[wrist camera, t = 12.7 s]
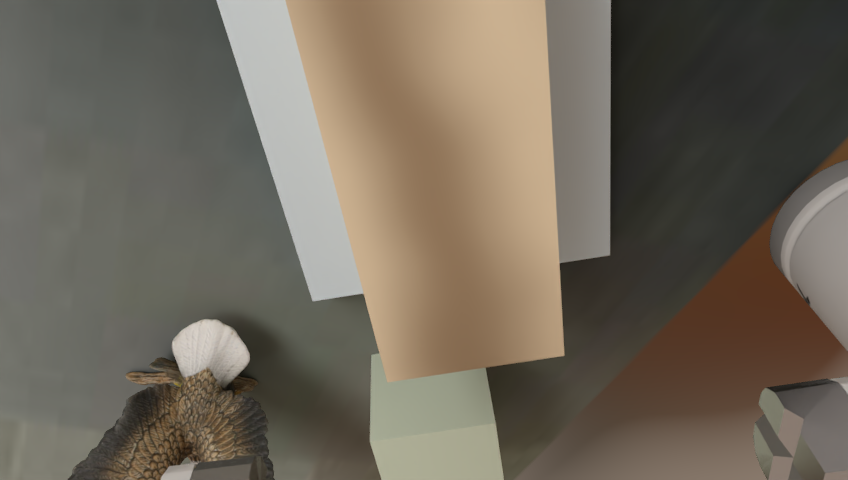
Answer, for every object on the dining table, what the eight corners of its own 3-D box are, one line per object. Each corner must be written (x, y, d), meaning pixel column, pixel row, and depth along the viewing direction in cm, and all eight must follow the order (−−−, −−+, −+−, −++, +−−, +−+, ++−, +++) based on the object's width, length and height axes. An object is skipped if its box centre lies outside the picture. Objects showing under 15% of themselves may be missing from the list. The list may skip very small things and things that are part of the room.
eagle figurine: (162, 431, 32) (97, 621, 25) (96, 322, 28) (-6, 509, 21) (315, 405, 32) (294, 591, 24) (269, 291, 28) (228, 471, 21)
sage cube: (479, 336, 30) (495, 423, 26) (491, 411, 33) (506, 500, 29) (371, 353, 30) (369, 441, 26) (391, 426, 33) (392, 516, 29)
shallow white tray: (599, -152, 20) (612, -149, 18) (601, 238, 27) (610, 256, 26) (202, -80, 20) (192, -73, 19) (315, 283, 28) (312, 302, 27)
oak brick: (503, -131, 19) (539, -110, 14) (535, 267, 26) (564, 355, 22) (294, -92, 19) (269, -61, 15) (386, 290, 27) (387, 382, 22)
